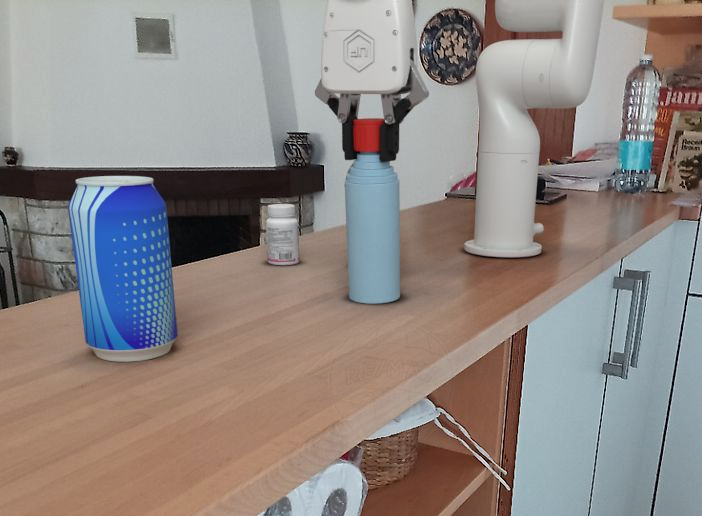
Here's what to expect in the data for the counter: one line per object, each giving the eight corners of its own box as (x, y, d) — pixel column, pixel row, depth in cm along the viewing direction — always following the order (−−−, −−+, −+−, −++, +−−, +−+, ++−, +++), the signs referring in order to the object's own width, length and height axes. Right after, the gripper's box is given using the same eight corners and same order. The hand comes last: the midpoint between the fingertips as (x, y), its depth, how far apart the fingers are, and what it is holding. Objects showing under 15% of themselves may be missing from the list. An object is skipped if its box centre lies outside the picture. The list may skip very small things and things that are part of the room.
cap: (386, 152, 88) (385, 120, 86) (351, 151, 88) (350, 120, 87) (390, 148, 91) (390, 118, 90) (357, 148, 92) (356, 118, 90)
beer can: (128, 370, 70) (107, 185, 64) (68, 354, 74) (43, 179, 68) (197, 347, 76) (183, 178, 71) (138, 334, 80) (121, 173, 75)
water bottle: (371, 286, 101) (367, 123, 93) (410, 294, 97) (410, 125, 89) (338, 297, 96) (331, 127, 88) (378, 307, 93) (374, 129, 85)
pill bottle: (278, 258, 120) (276, 202, 117) (305, 261, 118) (304, 204, 115) (261, 263, 116) (258, 206, 113) (288, 267, 114) (286, 208, 111)
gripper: (285, -20, 83) (291, 159, 90) (429, -28, 77) (424, 165, 84) (319, -11, 90) (323, 155, 96) (455, -18, 83) (449, 161, 90)
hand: (370, 158), depth 90 cm, fingers closed on cap, 3 cm apart
